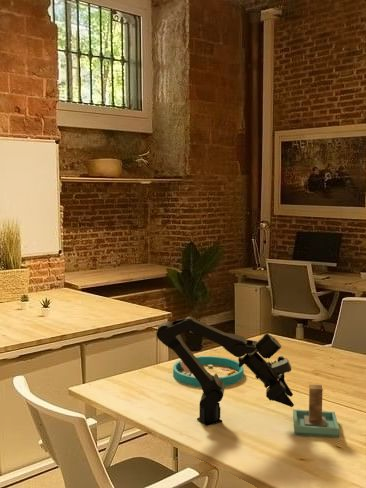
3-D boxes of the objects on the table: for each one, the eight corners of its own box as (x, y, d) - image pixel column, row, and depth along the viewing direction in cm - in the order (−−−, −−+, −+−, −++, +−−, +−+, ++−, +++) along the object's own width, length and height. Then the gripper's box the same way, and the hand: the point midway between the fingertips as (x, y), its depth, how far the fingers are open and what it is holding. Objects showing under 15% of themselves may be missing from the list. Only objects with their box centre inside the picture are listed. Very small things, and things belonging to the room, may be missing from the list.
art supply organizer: (191, 361, 263) (191, 348, 263) (253, 370, 250) (253, 357, 250) (160, 381, 236) (160, 367, 236) (228, 392, 223) (228, 378, 223)
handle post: (304, 428, 187) (305, 390, 186) (303, 419, 194) (304, 382, 193) (326, 429, 186) (327, 391, 185) (324, 420, 193) (325, 383, 192)
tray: (294, 435, 184) (294, 426, 184) (293, 417, 198) (293, 409, 198) (339, 438, 182) (339, 429, 182) (334, 420, 196) (334, 411, 196)
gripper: (277, 359, 180) (312, 395, 180) (277, 343, 199) (308, 375, 198) (252, 382, 182) (286, 418, 182) (254, 364, 201) (285, 396, 200)
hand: (292, 400), depth 190 cm, fingers open, 9 cm apart
